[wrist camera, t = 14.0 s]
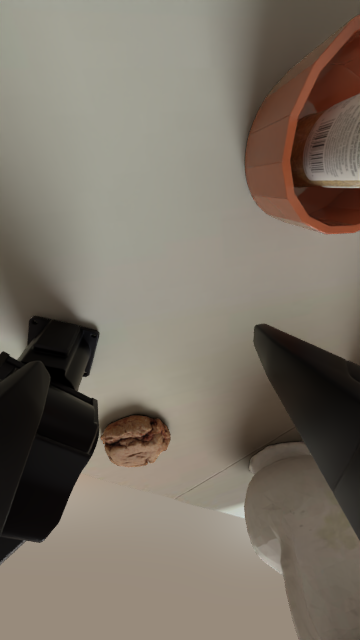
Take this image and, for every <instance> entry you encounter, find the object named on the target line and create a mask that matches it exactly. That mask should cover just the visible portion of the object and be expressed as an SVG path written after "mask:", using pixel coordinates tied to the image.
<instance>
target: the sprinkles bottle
mask: <svg viewBox="0 0 360 640" xmlns="http://www.w3.org/2000/svg"><path fill="white" fill-rule="evenodd" d="M290 163H291V171H292V178H293V186H294V187H297V188H303V187H309V186H322V187H326V188H360V94H357V95H355V96H353V97H351V98H348V99H346V100H344V101H341V102H339V103H337V104H335V105H334V106H332V107H330V108H328V109H326V110H324V111H322V112H319V113H313V114H310V115H307V116H305V117H303V118H302V119H301V120H299V121H298V122H297V126H296V131H295V137H294V142H293V147H292V152H291V158H290Z"/></svg>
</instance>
